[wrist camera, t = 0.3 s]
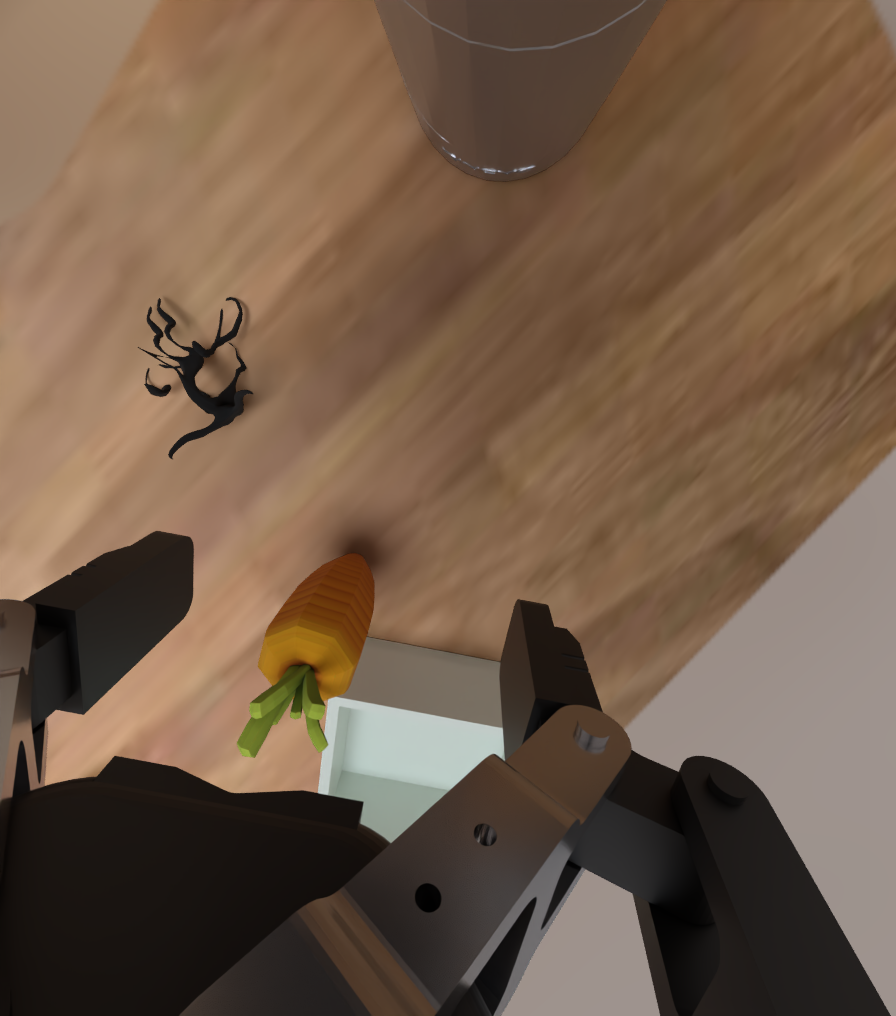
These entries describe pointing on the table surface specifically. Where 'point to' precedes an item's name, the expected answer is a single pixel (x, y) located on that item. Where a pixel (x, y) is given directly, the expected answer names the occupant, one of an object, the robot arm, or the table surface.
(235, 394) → the creature
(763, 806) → the robot arm
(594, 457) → the table surface
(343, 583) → the carrot
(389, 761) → the bin
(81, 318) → the table surface
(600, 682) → the table surface
